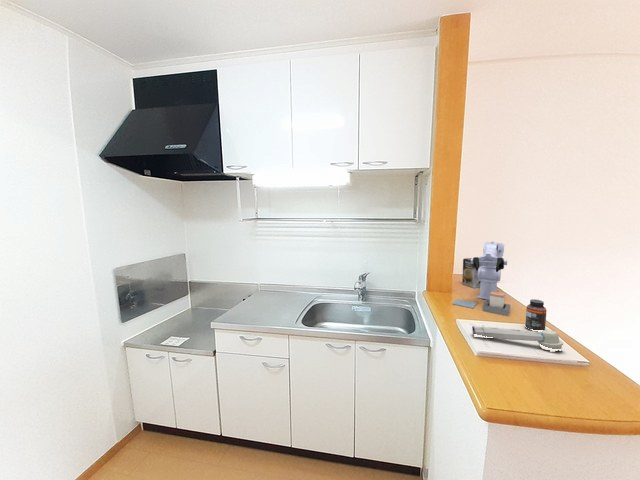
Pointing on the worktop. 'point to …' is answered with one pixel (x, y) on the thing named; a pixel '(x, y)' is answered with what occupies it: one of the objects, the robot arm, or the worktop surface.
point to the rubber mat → (464, 303)
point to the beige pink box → (497, 299)
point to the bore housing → (496, 309)
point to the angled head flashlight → (521, 335)
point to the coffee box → (470, 274)
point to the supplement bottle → (535, 315)
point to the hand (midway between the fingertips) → (486, 269)
